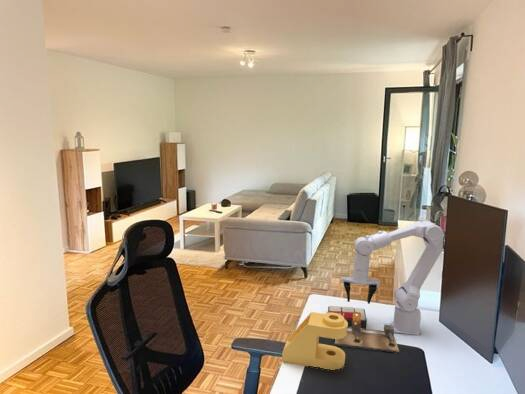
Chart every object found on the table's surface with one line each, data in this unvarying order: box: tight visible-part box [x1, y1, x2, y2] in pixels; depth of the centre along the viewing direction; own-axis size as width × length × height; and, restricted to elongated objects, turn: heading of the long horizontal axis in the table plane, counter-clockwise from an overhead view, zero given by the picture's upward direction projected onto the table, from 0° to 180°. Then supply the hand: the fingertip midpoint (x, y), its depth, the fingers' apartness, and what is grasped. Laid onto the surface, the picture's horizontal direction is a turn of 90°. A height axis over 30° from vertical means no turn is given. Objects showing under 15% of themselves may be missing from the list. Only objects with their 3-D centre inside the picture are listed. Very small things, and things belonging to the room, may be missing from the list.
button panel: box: [327, 305, 368, 329], centre depth 154 cm, size 11×4×15 cm
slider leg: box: [351, 312, 361, 341], centre depth 139 cm, size 3×9×7 cm, turn 171°
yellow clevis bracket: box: [281, 311, 348, 370], centre depth 125 cm, size 20×9×16 cm, turn 75°
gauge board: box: [334, 323, 400, 353], centre depth 139 cm, size 22×13×5 cm, turn 81°
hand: (358, 301), depth 148 cm, fingers open, 7 cm apart
